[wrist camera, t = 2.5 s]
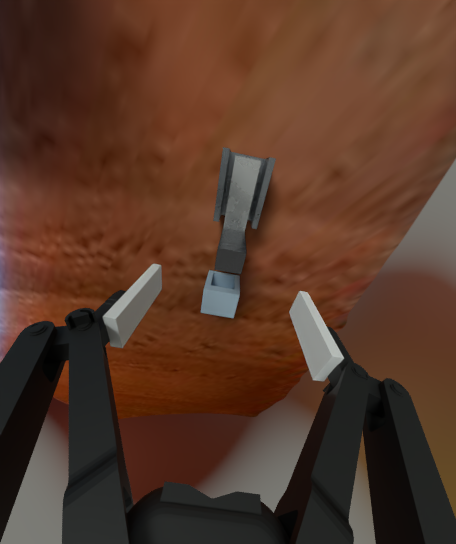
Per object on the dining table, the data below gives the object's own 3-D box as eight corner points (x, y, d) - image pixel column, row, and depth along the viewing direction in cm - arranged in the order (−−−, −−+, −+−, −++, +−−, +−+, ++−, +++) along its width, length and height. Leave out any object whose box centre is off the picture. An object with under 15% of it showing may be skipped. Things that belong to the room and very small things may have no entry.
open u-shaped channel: (226, 151, 25) (223, 147, 21) (269, 160, 26) (275, 158, 21) (217, 212, 30) (213, 220, 25) (253, 219, 30) (256, 229, 26)
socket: (209, 270, 36) (203, 288, 31) (239, 275, 37) (239, 295, 31) (206, 292, 39) (200, 312, 34) (234, 297, 40) (233, 318, 34)
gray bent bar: (235, 156, 25) (233, 149, 15) (258, 161, 25) (271, 157, 15) (218, 257, 33) (210, 294, 23) (236, 260, 33) (234, 298, 24)
